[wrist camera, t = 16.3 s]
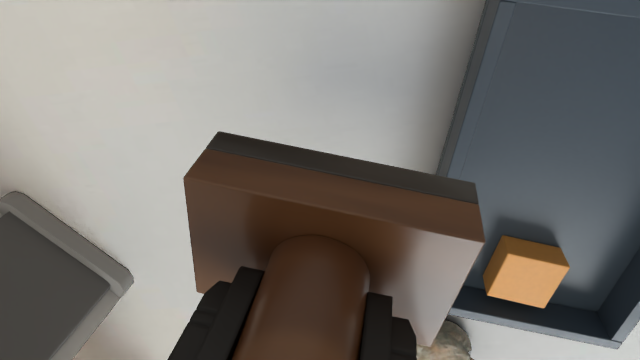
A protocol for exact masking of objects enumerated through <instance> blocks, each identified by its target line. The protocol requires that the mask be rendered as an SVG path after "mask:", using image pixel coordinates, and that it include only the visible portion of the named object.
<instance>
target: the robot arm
mask: <svg viewBox="0 0 640 360" xmlns="http://www.w3.org/2000/svg"><path fill="white" fill-rule="evenodd" d="M264 272H265V271H264V270H259V269H254V268H249V267H244V266H241V267H240V268H239V270H238V272H237V274H236V276H235V278H234V280H233V282H232V283H230V282H225V281H218V282H217V283H216V284H215V285H213V286H212V287H211V288H210V289H209V290H207V291H206V292H205V294H204V296H203V297H202V299H201V301H200V303H199V305H198V306H197V310H195V312H194V313H193V315H192V317H191V319H190V322H189V323H188V324H187V326H186V328H185V329H184V331H183V333H182V335H181V337H180V338H179V340H178V342H177V344H176V346H175V347H174V349H173V351H172V353H171V354H170V356H169V358H168V360H231V359H232V356H233V354H234V351H235V348H236V346H237V343H238V340H239V338H240V335H241V332H242V330H243V327H244V325H245V322H246V319H247V317H248V314H249V311H250V309H251V306H252V304H253V301H254V298H255V296H256V293H257V290H258V288H259V285H260V283H261V280H262V277H263V275H264ZM392 306H393V297H392V296H387V295H382V294H377V293H372V292H368V293H367V301H366V309H365V317H364V326H363V334H362V342H361V350H360V359H359V360H417V358H416V356H417V340H416V335H415V332H414V330H413V328H412V326H411V324H410V322H409V319H404V318H399V317H394V316H392Z"/></svg>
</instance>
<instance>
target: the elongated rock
mask: <svg viewBox="0 0 640 360" xmlns="http://www.w3.org/2000/svg"><path fill="white" fill-rule="evenodd" d="M469 351H471V343H470V340H469V338H468V335H467V334H466V332H465V331H463V330H462V329H461V328H460V327H459V326H458V325H457V324H454V323H453V322H450V321H444V323H443V325H442V327H441V329H440V331H439V332H438V334H437V336H436V338H435V340H434V342H433V344H432V346H431V347H429V346H424V345H420V344H417V356H416V358H417V360H474V359H472V358H471V357H470V354H469V353H468V352H469Z"/></svg>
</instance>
